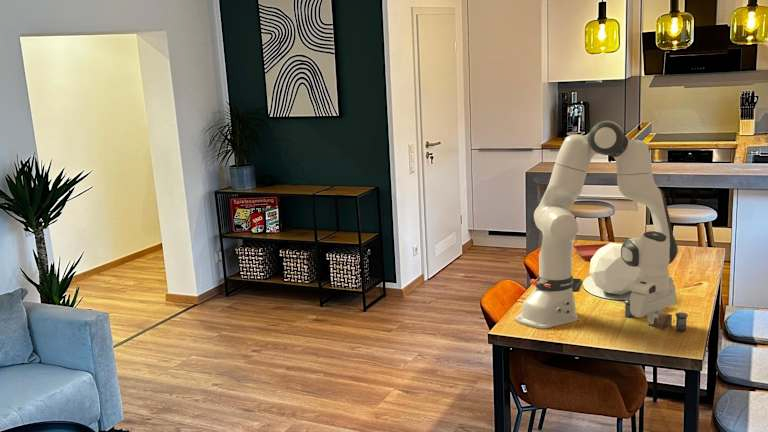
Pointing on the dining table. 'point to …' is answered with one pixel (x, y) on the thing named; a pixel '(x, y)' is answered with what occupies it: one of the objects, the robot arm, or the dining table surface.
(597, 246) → the plant saucer
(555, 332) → the dining table surface
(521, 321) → the robot arm
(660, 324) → the walnut block
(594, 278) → the geometric orb
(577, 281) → the phone
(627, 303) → the gate posts
